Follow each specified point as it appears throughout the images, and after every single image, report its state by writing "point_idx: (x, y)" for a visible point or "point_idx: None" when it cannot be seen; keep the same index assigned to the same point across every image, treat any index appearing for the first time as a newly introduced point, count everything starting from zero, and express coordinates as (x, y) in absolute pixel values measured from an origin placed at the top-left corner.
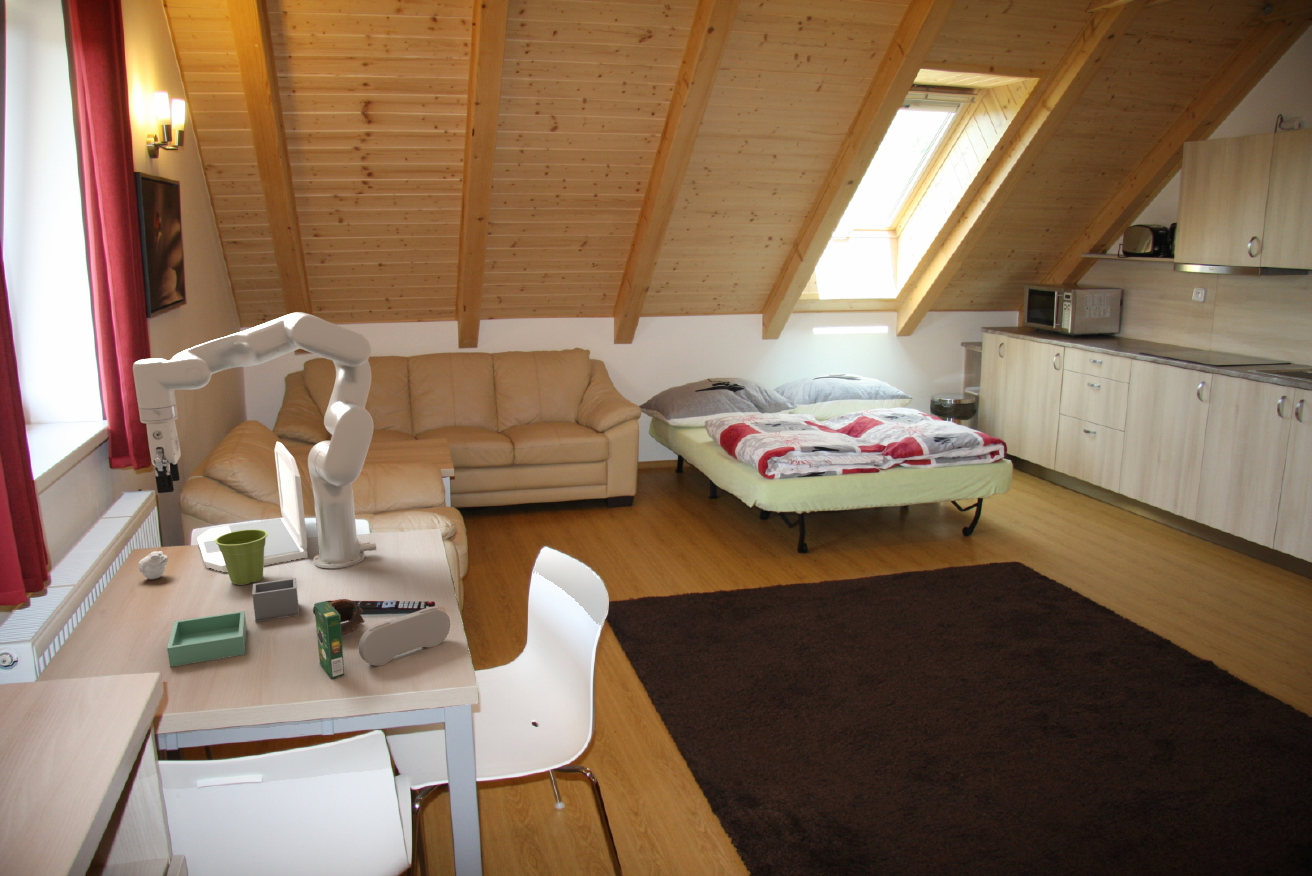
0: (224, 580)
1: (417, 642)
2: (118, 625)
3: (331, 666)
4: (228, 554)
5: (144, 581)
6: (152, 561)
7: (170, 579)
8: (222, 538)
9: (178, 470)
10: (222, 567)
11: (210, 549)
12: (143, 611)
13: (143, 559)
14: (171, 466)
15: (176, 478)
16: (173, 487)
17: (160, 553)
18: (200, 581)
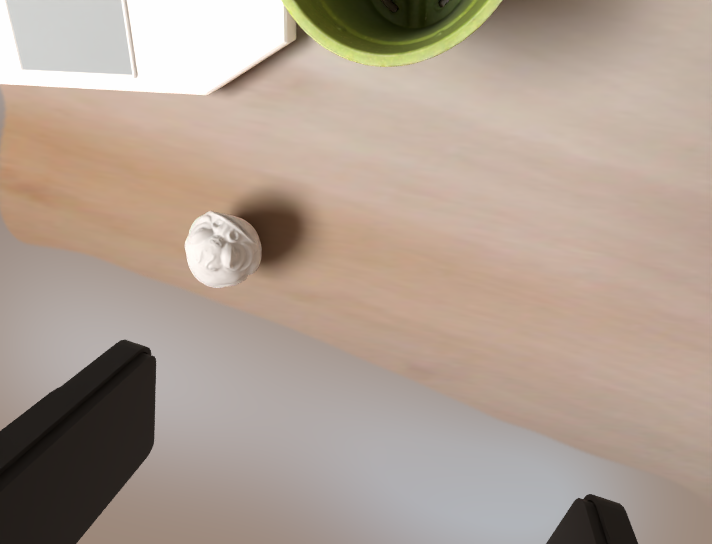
0: None
1: None
2: (547, 362)
3: None
4: (461, 17)
5: None
6: (244, 262)
7: (270, 201)
8: (315, 19)
9: (37, 406)
10: (288, 42)
11: (104, 57)
12: (488, 300)
13: (218, 281)
14: (11, 537)
15: (140, 380)
16: (606, 526)
17: (213, 240)
18: (335, 126)
